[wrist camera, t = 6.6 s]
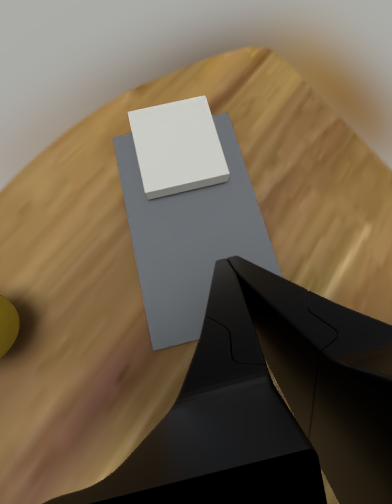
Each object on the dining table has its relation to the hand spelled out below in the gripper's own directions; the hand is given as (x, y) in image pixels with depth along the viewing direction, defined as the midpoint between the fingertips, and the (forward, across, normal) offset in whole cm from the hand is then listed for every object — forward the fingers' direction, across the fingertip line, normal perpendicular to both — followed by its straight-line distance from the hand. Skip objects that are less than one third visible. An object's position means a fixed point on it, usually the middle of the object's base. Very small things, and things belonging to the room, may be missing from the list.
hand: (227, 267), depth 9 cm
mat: (+12, 0, +3) cm, 12 cm away
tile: (+12, 0, 0) cm, 12 cm away
